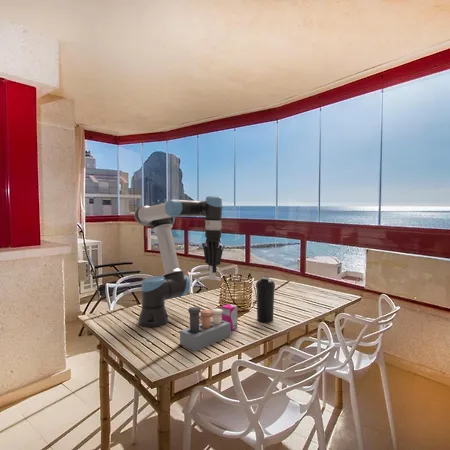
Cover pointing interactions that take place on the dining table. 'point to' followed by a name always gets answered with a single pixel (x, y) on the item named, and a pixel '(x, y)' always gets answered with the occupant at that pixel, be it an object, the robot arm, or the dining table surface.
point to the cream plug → (217, 316)
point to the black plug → (194, 318)
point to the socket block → (204, 335)
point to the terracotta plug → (206, 319)
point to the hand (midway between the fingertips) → (212, 279)
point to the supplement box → (230, 315)
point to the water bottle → (265, 299)
